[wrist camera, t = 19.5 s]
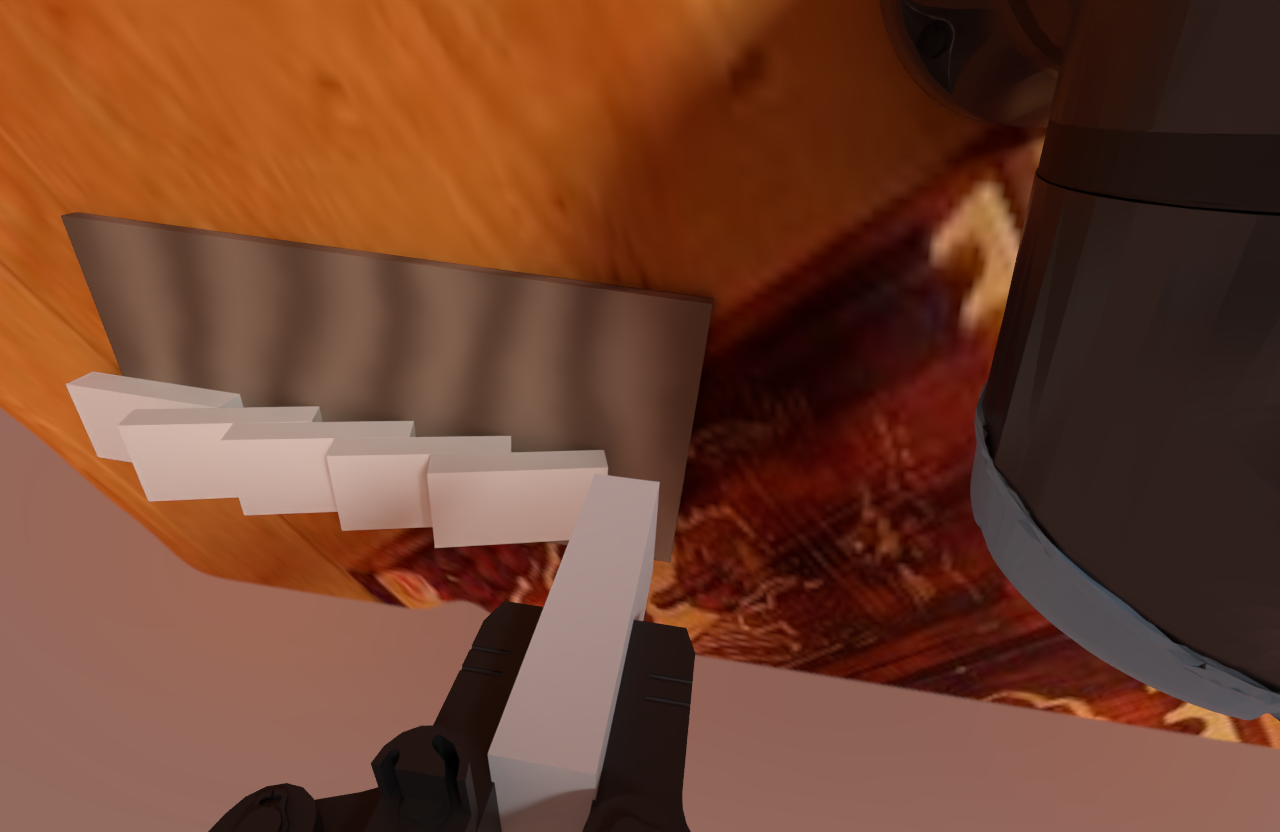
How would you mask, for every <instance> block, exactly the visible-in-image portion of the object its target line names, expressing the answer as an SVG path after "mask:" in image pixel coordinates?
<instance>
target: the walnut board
mask: <svg viewBox="0 0 1280 832" xmlns="http://www.w3.org/2000/svg"><path fill="white" fill-rule="evenodd" d="M61 217H62V220H63V222H64V225H65V228H66V230H67V233H68V235H69V238H70V240H71V243H72V246H73V248H74V251H75V253H76V256H77V259H78V261H79V264H80V266H81V269H82V271H83V274H84V277H85V279H86V282H87V284H88V287H89V289H90V292H91V295H92V297H93V300H94V302H95V305H96V308H97V310H98V313H99V315H100V318H101V320H102V323H103V326H104V328H105V331H106V333H107V336H108V338H109V341H110V344H111V346H112V349H113V351H114V354H115V357H116V359H117V362H118V364H119V367H120V369H121V372H122V375H123V376H125V377H132V378H138V379H145V380H151V381H158V382H164V383H171V384H177V385H184V386H190V387H197V388H203V389H210V390H216V391H223V392H229V393H236V394H240V397H241V400H242V404H243V408H246V407H307V406H319V407H320V412H321V417H322V422H361V421H414V426H415V435H416V437H457V436H511V452H544V451H580V450H604V452H605V456H606V461H607V465H608V475H609V476H617V477H624V478H632V479H640V480H647V481H655V482H660V483H659V497H658V510H657V524H656V537H655V550H654V560H659V561H665V562H670V560H671V554H672V548H673V542H674V536H675V530H676V524H677V518H678V512H679V506H680V500H681V494H682V488H683V482H684V476H685V470H686V463H687V457H688V451H689V445H690V439H691V433H692V427H693V421H694V415H695V409H696V403H697V397H698V391H699V385H700V379H701V373H702V367H703V360H704V354H705V348H706V342H707V336H708V330H709V324H710V318H711V312H712V306H713V299H712V298H705V297H698V296H690V295H683V294H675V293H668V292H661V291H653V290H646V289H638V288H631V287H624V286H616V285H609V284H602V283H594V282H587V281H579V280H572V279H565V278H557V277H550V276H542V275H535V274H528V273H520V272H513V271H506V270H498V269H491V268H483V267H476V266H469V265H461V264H454V263H446V262H439V261H432V260H424V259H417V258H410V257H402V256H395V255H387V254H380V253H373V252H365V251H358V250H350V249H343V248H336V247H328V246H321V245H314V244H306V243H299V242H291V241H284V240H277V239H269V238H262V237H254V236H247V235H240V234H232V233H225V232H218V231H210V230H203V229H195V228H188V227H181V226H173V225H166V224H158V223H151V222H144V221H136V220H129V219H122V218H114V217H107V216H99V215H92V214H85V213H77V212H76V213H71V214H66V215H62V216H61ZM546 542H550V543H556V544H562V545H568V543H569V540H562V541H546Z"/></svg>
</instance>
